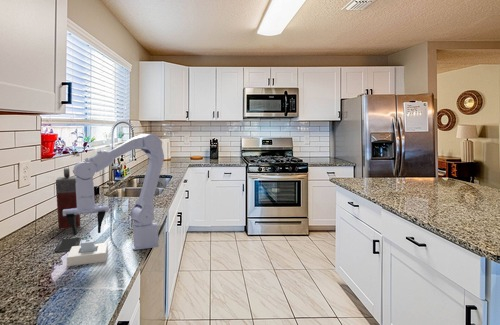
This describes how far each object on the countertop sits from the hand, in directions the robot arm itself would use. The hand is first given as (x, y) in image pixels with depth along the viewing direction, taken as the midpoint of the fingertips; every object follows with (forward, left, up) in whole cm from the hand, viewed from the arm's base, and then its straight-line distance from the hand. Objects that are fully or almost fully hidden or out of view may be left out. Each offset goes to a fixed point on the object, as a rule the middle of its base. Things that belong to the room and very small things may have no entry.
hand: (87, 233), depth 121 cm
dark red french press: (+12, -51, -9) cm, 53 cm away
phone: (+9, -18, -9) cm, 22 cm away
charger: (0, 0, -9) cm, 9 cm away
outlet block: (0, 0, -9) cm, 9 cm away
